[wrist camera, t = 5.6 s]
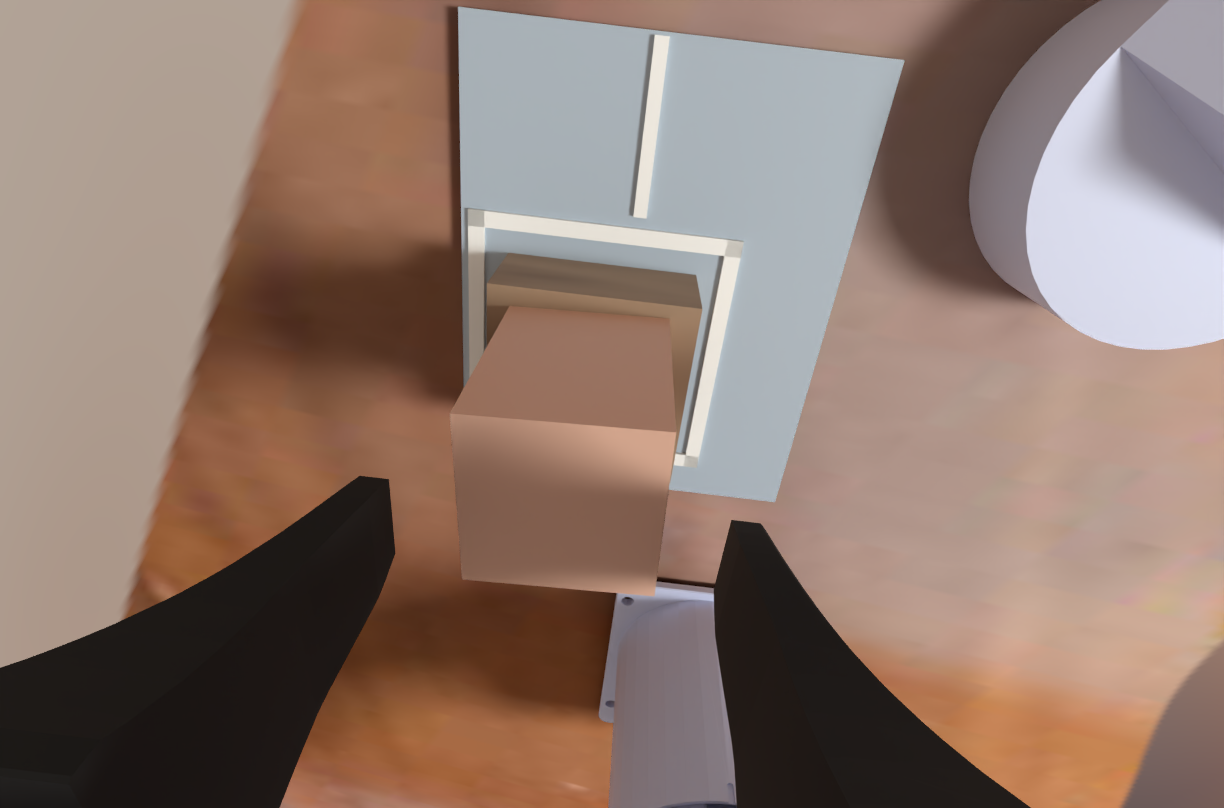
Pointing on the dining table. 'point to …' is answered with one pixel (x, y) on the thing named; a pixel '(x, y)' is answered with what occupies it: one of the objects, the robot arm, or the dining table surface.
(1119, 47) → the wedge on round base
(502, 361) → the column block
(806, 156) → the board
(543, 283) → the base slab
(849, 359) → the dining table surface
